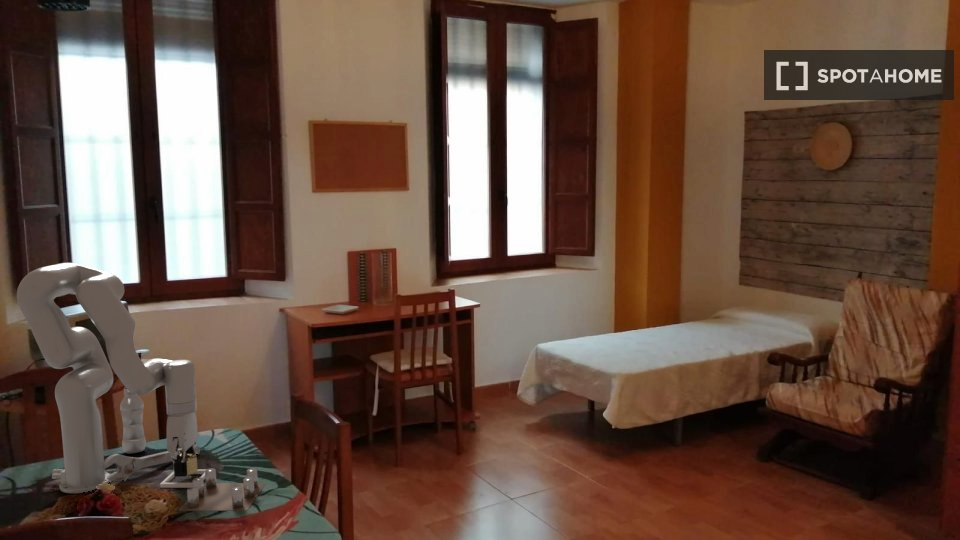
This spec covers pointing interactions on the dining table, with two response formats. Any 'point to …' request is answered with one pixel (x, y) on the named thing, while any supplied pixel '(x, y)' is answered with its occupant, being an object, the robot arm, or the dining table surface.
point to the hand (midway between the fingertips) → (185, 470)
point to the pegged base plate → (210, 476)
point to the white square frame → (180, 485)
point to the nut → (190, 463)
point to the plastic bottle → (132, 423)
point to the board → (222, 498)
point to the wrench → (135, 463)
